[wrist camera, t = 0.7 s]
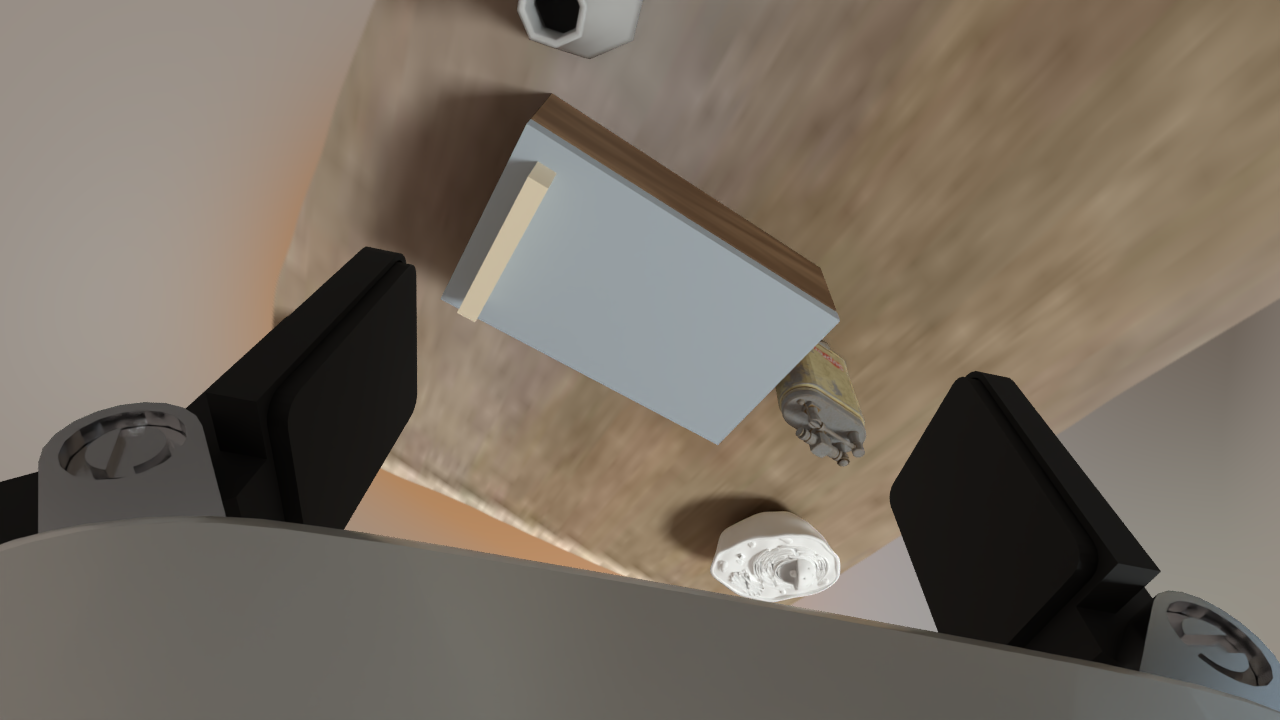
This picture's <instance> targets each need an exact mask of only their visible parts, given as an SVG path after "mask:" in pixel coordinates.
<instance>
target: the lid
mask: <svg viewBox="0 0 1280 720" xmlns="http://www.w3.org/2000/svg"><path fill="white" fill-rule="evenodd" d="M441 300H443V301H445V302H447V303H449V304H451V305H453V306H455V307H456V308H458V309H459V310H458V312H457V313H458V314H460V315H462V316H464V317H466V318H468V319H470V320H472V321H473V322H476V320H477V319H479V320H481V321H483V322H485V323H487V324H489V325H491V326H493V327H495V328H496V329H498V330H500V331H502V332H504V333H506V334H508V335H510V336H512V337H514V338H515V339H517V340H519V341H521V342H523V343H525V344H527V345H529V346H531V347H533V348H534V349H536V350H538V351H540V352H542V353H544V354H546V355H548V356H550V357H552V358H553V359H555V360H557V361H559V362H561V363H563V364H565V365H567V366H569V367H571V368H572V369H574V370H576V371H578V372H580V373H582V374H584V375H586V376H588V377H590V378H591V379H593V380H595V381H597V382H599V383H601V384H603V385H605V386H607V387H609V388H610V389H612V390H614V391H616V392H618V393H620V394H622V395H624V396H626V397H628V398H629V399H631V400H633V401H635V402H637V403H639V404H641V405H643V406H645V407H647V408H648V409H650V410H652V411H654V412H656V413H658V414H660V415H662V416H664V417H666V418H667V419H669V420H671V421H673V422H675V423H677V424H679V425H681V426H683V427H685V428H686V429H688V430H690V431H692V432H694V433H696V434H698V435H700V436H702V437H704V438H705V439H707V440H709V441H711V442H713V443H715V444H717V445H718V444H719V443H720V442H721V441H722V440H723V439H724V438H725V437H726V436H727V435H728V434H729V433H730V432H731V431H732V430H733V429H734V428H735V427H736V426H737V425H738V424H739V423H740V422H741V421H742V420H743V419H744V418H745V417H746V416H747V415H748V414H749V413H750V412H751V411H752V410H753V409H754V408H755V407H756V406H757V405H758V404H759V403H760V402H761V401H762V400H763V399H764V398H765V397H766V395H767V394H768V393H769V392H770V391H771V390H772V389H773V388H774V387H775V386H776V385H777V384H778V383H779V382H780V381H781V380H782V379H783V378H784V377H785V376H786V375H787V374H788V373H789V372H790V371H791V370H792V369H793V368H794V367H795V366H796V365H797V364H798V363H799V362H800V361H801V360H802V359H803V358H804V357H805V356H806V355H807V354H808V353H809V352H810V351H811V350H812V349H813V348H814V347H815V346H816V345H817V344H818V343H819V342H820V341H821V340H822V339H823V338H824V337H825V336H826V335H827V334H828V333H829V332H830V331H831V330H832V329H833V328H834V327H835V325H836V324H837V323H838V322H839V321H840V319H839V316H838V314H837V312H835V311H834V310H832V309H831V308H829V307H827V306H826V305H824V304H823V303H821V302H820V301H818V300H816V299H815V298H813V297H812V296H810V295H808V294H807V293H805V292H804V291H802V290H801V289H799V288H797V287H796V286H794V285H793V284H791V283H789V282H788V281H786V280H785V279H783V278H782V277H780V276H778V275H777V274H775V273H774V272H772V271H771V270H769V269H767V268H766V267H764V266H763V265H761V264H759V263H758V262H756V261H755V260H753V259H752V258H750V257H748V256H747V255H745V254H744V253H742V252H740V251H739V250H737V249H736V248H734V247H733V246H731V245H729V244H728V243H726V242H725V241H723V240H722V239H720V238H718V237H717V236H715V235H714V234H712V233H710V232H709V231H707V230H706V229H704V228H703V227H701V226H699V225H698V224H696V223H695V222H693V221H691V220H690V219H688V218H687V217H685V216H684V215H682V214H680V213H679V212H677V211H676V210H674V209H673V208H671V207H669V206H668V205H666V204H665V203H663V202H661V201H660V200H658V199H657V198H655V197H654V196H652V195H650V194H649V193H647V192H646V191H644V190H642V189H641V188H639V187H638V186H636V185H635V184H633V183H631V182H630V181H628V180H627V179H625V178H624V177H622V176H620V175H619V174H617V173H616V172H614V171H612V170H611V169H609V168H608V167H606V166H605V165H603V164H601V163H600V162H598V161H597V160H595V159H593V158H592V157H590V156H589V155H587V154H586V153H584V152H582V151H581V150H579V149H578V148H576V147H575V146H573V145H571V144H570V143H568V142H567V141H565V140H563V139H562V138H560V137H559V136H557V135H556V134H554V133H552V132H551V131H549V130H548V129H546V128H544V127H543V126H541V125H540V124H538V123H537V122H535V121H533V120H532V119H530V120H529V122H528V123H527V124H526V126H525V128H524V130H523V132H522V134H521V137H520V139H519V141H518V143H517V145H516V147H515V149H514V151H513V153H512V155H511V157H510V159H509V161H508V163H507V165H506V167H505V169H504V171H503V173H502V175H501V177H500V179H499V181H498V183H497V185H496V187H495V189H494V191H493V193H492V195H491V198H490V200H489V202H488V204H487V206H486V208H485V210H484V212H483V214H482V216H481V218H480V220H479V222H478V224H477V226H476V228H475V230H474V232H473V234H472V236H471V238H470V240H469V242H468V244H467V246H466V248H465V250H464V252H463V254H462V256H461V259H460V261H459V263H458V265H457V267H456V269H455V271H454V273H453V275H452V277H451V279H450V281H449V283H448V285H447V287H446V289H445V291H444V293H443V295H442V297H441Z"/></svg>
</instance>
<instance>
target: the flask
mask: <svg viewBox="0 0 1280 720" xmlns="http://www.w3.org/2000/svg"><path fill="white" fill-rule="evenodd" d="M642 2H643V0H518V6H517V12H518V14H519V16H520V18H521V21H522V23H523V25H524V28H525V30H526V32H527V35H528V37H529V39H530V40H532V41H536V42H539V43H542V44H544V45H546V46H550V47H553V48H556V49H559V50H562V51H565V52H569V53H572V54H575V55H578V56H581V57H584V58H588V59H591V58H594V57H596V56H598V55H600V54H603V53H605V52H607V51H610V50H612V49H614V48H617V47H619V46H621V45H624V44H626V43H628V42H631V41H633V39H634V35H635V31H636V27H637V22H638V18H639V14H640V10H641V6H642Z"/></svg>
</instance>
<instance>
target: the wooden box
mask: <svg viewBox="0 0 1280 720" xmlns="http://www.w3.org/2000/svg"><path fill="white" fill-rule="evenodd" d="M531 119H532V120H533V121H535V122H537V123H538V124H540V125H541V126H543V127H544V128H546V129H548V130H549V131H551V132H552V133H554V134H556V135H557V136H559V137H560V138H562V139H563V140H565V141H567V142H568V143H570V144H571V145H573V146H575V147H576V148H578V149H579V150H581V151H582V152H584V153H586V154H587V155H589V156H590V157H592V158H593V159H595V160H597V161H598V162H600V163H601V164H603V165H605V166H606V167H608V168H609V169H611V170H612V171H614V172H616V173H617V174H619V175H620V176H622V177H624V178H625V179H627V180H628V181H630V182H631V183H633V184H635V185H636V186H638V187H639V188H641V189H642V190H644V191H646V192H647V193H649V194H650V195H652V196H654V197H655V198H657V199H658V200H660V201H661V202H663V203H665V204H666V205H668V206H669V207H671V208H673V209H674V210H676V211H677V212H679V213H680V214H682V215H684V216H685V217H687V218H688V219H690V220H691V221H693V222H695V223H696V224H698V225H699V226H701V227H703V228H704V229H706V230H707V231H709V232H710V233H712V234H714V235H715V236H717V237H718V238H720V239H722V240H723V241H725V242H726V243H728V244H729V245H731V246H733V247H734V248H736V249H737V250H739V251H740V252H742V253H744V254H745V255H747V256H748V257H750V258H752V259H753V260H755V261H756V262H758V263H759V264H761V265H763V266H764V267H766V268H767V269H769V270H771V271H772V272H774V273H775V274H777V275H778V276H780V277H782V278H783V279H785V280H786V281H788V282H789V283H791V284H793V285H794V286H796V287H797V288H799V289H801V290H802V291H804V292H805V293H807V294H808V295H810V296H812V297H813V298H815V299H816V300H818V301H820V302H821V303H823V304H824V305H826V306H827V307H829V308H831V309H832V310H834V311H836V308H835V306H834V303H833V300H832V298H831V295H830V292H829V290H828V287H827V284H826V282H825V279H824V276H823V274H822V271H821V268H820V267H818V266H816V265H815V264H813V263H812V262H810V261H809V260H807V259H806V258H804V257H803V256H801V255H800V254H798V253H797V252H795V251H793V250H792V249H790V248H789V247H787V246H786V245H784V244H783V243H781V242H780V241H778V240H777V239H775V238H773V237H772V236H770V235H769V234H767V233H766V232H764V231H763V230H761V229H760V228H758V227H757V226H755V225H754V224H752V223H750V222H749V221H747V220H746V219H744V218H743V217H741V216H740V215H738V214H737V213H735V212H734V211H732V210H730V209H729V208H727V207H726V206H724V205H723V204H721V203H720V202H718V201H717V200H715V199H714V198H712V197H711V196H709V195H707V194H706V193H704V192H703V191H701V190H700V189H698V188H697V187H695V186H694V185H692V184H691V183H689V182H687V181H686V180H684V179H683V178H681V177H680V176H678V175H677V174H675V173H674V172H672V171H671V170H669V169H667V168H666V167H664V166H663V165H661V164H660V163H658V162H657V161H655V160H654V159H652V158H651V157H649V156H648V155H646V154H644V153H643V152H641V151H640V150H638V149H637V148H635V147H634V146H632V145H631V144H629V143H628V142H626V141H624V140H623V139H621V138H620V137H618V136H617V135H615V134H614V133H612V132H611V131H609V130H608V129H606V128H605V127H603V126H601V125H600V124H598V123H597V122H595V121H594V120H592V119H591V118H589V117H588V116H586V115H585V114H583V113H581V112H580V111H578V110H577V109H575V108H574V107H572V106H571V105H569V104H568V103H566V102H565V101H563V100H561V99H560V98H558V97H557V96H555V95H554V94H551V95H550V97H549V98H548V99H547V100H546V101H545V103H544V104H543V105H542V106H541V107H540V109H539V110H538V111H537V112H536V113H535V115H534V116H533V117H532V118H531Z"/></svg>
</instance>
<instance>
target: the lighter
mask: <svg viewBox="0 0 1280 720" xmlns="http://www.w3.org/2000/svg"><path fill="white" fill-rule="evenodd" d="M775 387H776V392H777V398H778V403H779V408H780V410H781V412H782V414H783V418H784V419H785V421H786V422H787V423H788V424H789V425H791V426H792V427H794V428H795V429H797V431H796V436H798V437H799V439H801V440H804V442H806V443H808V444H809V445H810V450H811V452H812V453H813V454H815V455H816V456H818V457H821V458H822V457H824V456H826V455H827V456H829V457H830V458H832V459H833V460H835V461H837V464H838V465H839V466H847V465H848V464H849V462H850V461H849V457H848V455H847V454H846V452H849V451H852V453H853V455H854V456H855V457H862V456H863V455H864V454H865V451H864V448H863V442H864V441H865V439H866V431H865V428H864V425H865V422H864V418H863V415H862V412H861V409H860V407H859V404H858V401H857V398H856V395H855V392H854V389H853V386H852V384H851V381H850V378H849V375H848V372H847V366H846V364H845V361H844V360H843V359H842V358H841V357H839V356H838V355H837V354H835V353H834V352H832V351H831V350H830V348H829V345H828V344H827V343H826V342H824V341H820V342H819V343H818V344H817V345H816V346H815V347H814V348H813V349H812V350H811V351H810V352H809V353H808V354H807V355H806V356H805V357H804V358H803V359H802V360H801V361H800V362H799V363H798V364H797V365H796V366H795V367H794V368H793V369H792V370H791V371H790V372H789V373H788V374H787V375H786V376H785V377H784V378H783V379H782V380H781V381H780V382H779V383H778V384H777V385H776V386H775Z"/></svg>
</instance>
